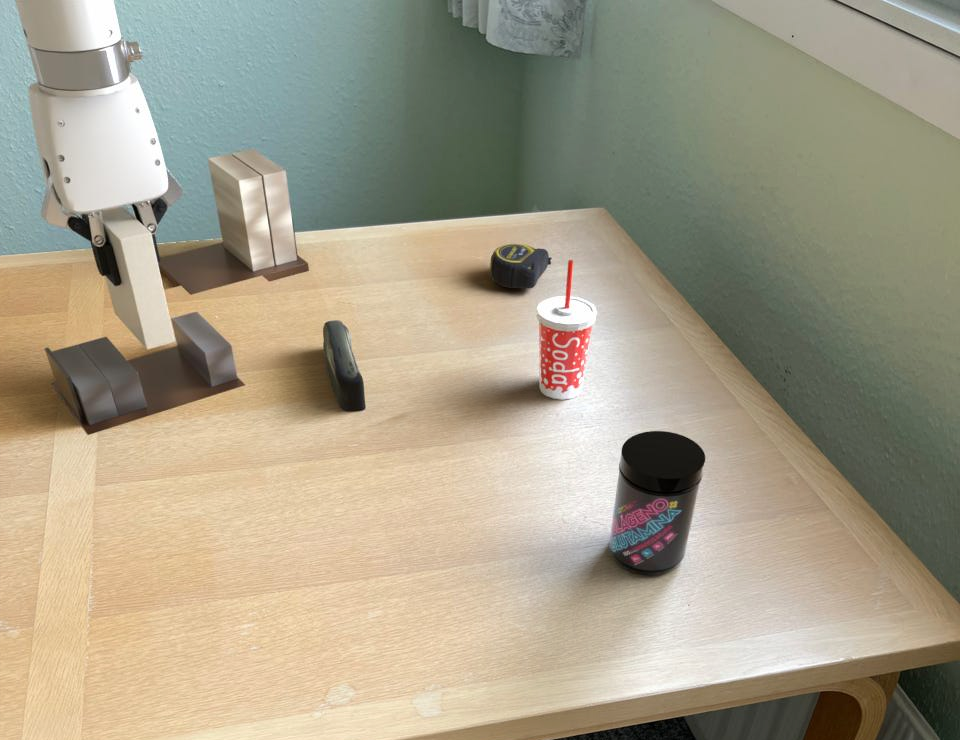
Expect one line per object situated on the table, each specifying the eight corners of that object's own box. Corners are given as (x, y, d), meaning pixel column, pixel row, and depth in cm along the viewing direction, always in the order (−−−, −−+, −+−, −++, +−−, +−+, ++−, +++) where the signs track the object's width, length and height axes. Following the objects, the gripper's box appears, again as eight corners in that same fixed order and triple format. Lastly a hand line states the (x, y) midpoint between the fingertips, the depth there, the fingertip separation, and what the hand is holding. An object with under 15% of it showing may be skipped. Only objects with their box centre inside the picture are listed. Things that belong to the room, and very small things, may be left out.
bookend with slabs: (192, 302, 117) (170, 201, 108) (155, 266, 123) (132, 169, 115) (309, 270, 123) (297, 172, 115) (267, 238, 130) (253, 144, 121)
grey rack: (90, 443, 95) (73, 389, 91) (52, 390, 102) (34, 338, 98) (247, 393, 102) (237, 341, 98) (202, 347, 109) (191, 296, 105)
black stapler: (367, 376, 95) (340, 305, 105) (338, 380, 95) (313, 309, 105) (370, 419, 99) (344, 346, 109) (342, 423, 98) (318, 350, 108)
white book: (146, 350, 95) (119, 239, 87) (114, 313, 100) (86, 206, 92) (175, 342, 96) (151, 232, 88) (142, 306, 101) (116, 199, 93)
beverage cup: (523, 395, 102) (529, 267, 92) (545, 369, 106) (553, 243, 96) (577, 408, 100) (589, 279, 90) (596, 381, 104) (610, 254, 94)
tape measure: (533, 298, 118) (535, 268, 116) (481, 288, 120) (482, 259, 117) (550, 275, 123) (552, 246, 120) (500, 266, 124) (501, 238, 122)
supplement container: (594, 539, 85) (606, 440, 78) (660, 522, 87) (678, 424, 80) (629, 586, 81) (646, 486, 73) (698, 568, 83) (722, 468, 75)
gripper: (156, 41, 86) (195, 243, 99) (-32, 67, 79) (36, 281, 93) (189, 62, 82) (225, 271, 95) (-7, 92, 75) (61, 312, 88)
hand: (131, 274), depth 94 cm, fingers closed on white book, 3 cm apart
